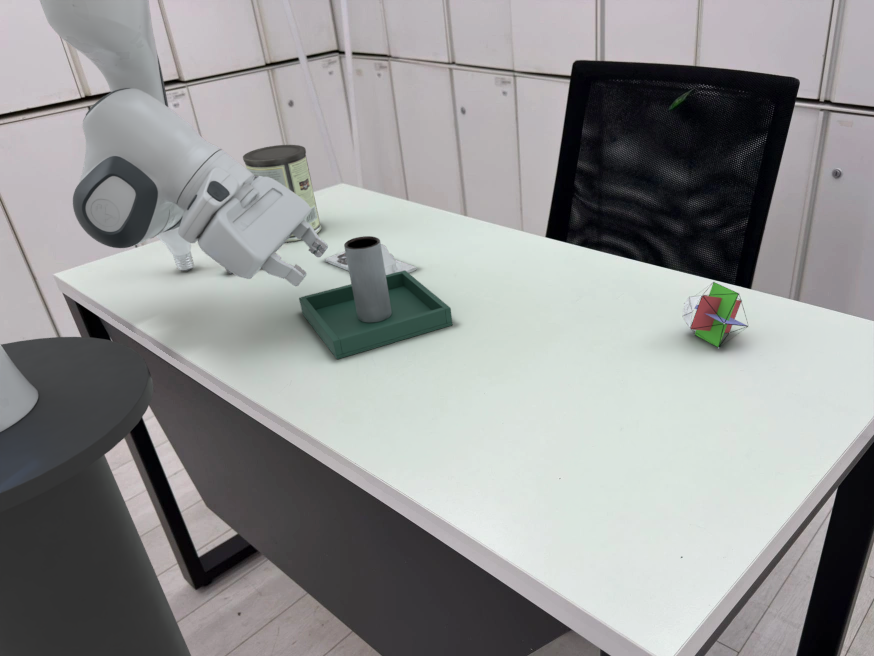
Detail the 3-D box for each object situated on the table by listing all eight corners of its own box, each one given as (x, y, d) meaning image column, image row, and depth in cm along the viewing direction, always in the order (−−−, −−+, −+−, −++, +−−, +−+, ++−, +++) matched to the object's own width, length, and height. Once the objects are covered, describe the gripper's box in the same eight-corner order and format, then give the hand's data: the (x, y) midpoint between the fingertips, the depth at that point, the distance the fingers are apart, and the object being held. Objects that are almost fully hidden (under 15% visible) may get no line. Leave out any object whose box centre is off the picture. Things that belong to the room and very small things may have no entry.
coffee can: (269, 225, 137) (250, 147, 129) (325, 220, 137) (310, 142, 130) (256, 245, 128) (235, 162, 121) (316, 240, 128) (299, 157, 121)
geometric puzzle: (728, 301, 92) (702, 262, 87) (770, 320, 87) (744, 280, 82) (690, 344, 92) (662, 308, 87) (730, 367, 87) (702, 329, 82)
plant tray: (337, 359, 91) (333, 341, 89) (302, 314, 102) (298, 297, 101) (452, 325, 97) (450, 307, 95) (407, 286, 108) (405, 270, 107)
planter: (377, 325, 97) (364, 250, 91) (350, 319, 99) (336, 246, 93) (398, 311, 100) (387, 238, 95) (372, 306, 102) (359, 234, 97)
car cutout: (416, 269, 114) (412, 241, 111) (381, 284, 110) (376, 255, 107) (359, 248, 123) (354, 222, 121) (325, 261, 119) (319, 234, 117)
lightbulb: (200, 259, 123) (181, 194, 118) (212, 270, 119) (193, 202, 113) (161, 270, 120) (139, 203, 115) (171, 281, 116) (149, 212, 110)
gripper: (240, 187, 102) (323, 253, 106) (171, 240, 85) (274, 316, 89) (264, 153, 99) (348, 221, 103) (198, 200, 82) (302, 280, 86)
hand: (313, 265), depth 96 cm, fingers open, 8 cm apart
